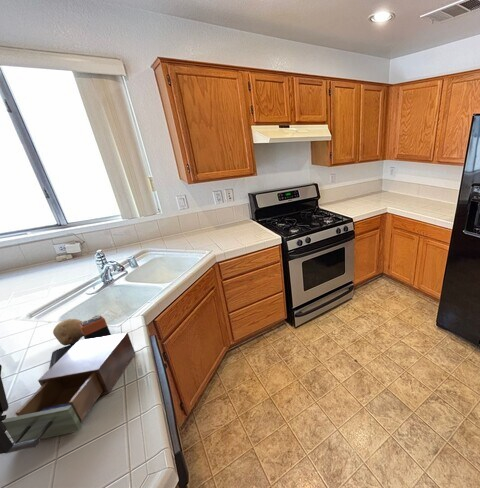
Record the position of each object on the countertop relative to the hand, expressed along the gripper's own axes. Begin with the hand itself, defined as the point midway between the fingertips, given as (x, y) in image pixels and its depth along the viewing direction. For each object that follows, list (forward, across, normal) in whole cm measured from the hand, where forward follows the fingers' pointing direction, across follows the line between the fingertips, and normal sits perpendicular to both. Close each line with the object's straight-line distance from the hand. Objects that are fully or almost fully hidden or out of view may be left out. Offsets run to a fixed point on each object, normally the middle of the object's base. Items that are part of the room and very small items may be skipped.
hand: (2, 450), depth 54 cm
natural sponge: (+9, +50, +19) cm, 54 cm away
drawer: (+8, +13, 0) cm, 15 cm away
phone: (+9, +40, +16) cm, 44 cm away
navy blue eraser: (+7, +14, 0) cm, 15 cm away
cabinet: (+9, +28, 0) cm, 29 cm away
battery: (+9, +48, +10) cm, 50 cm away
